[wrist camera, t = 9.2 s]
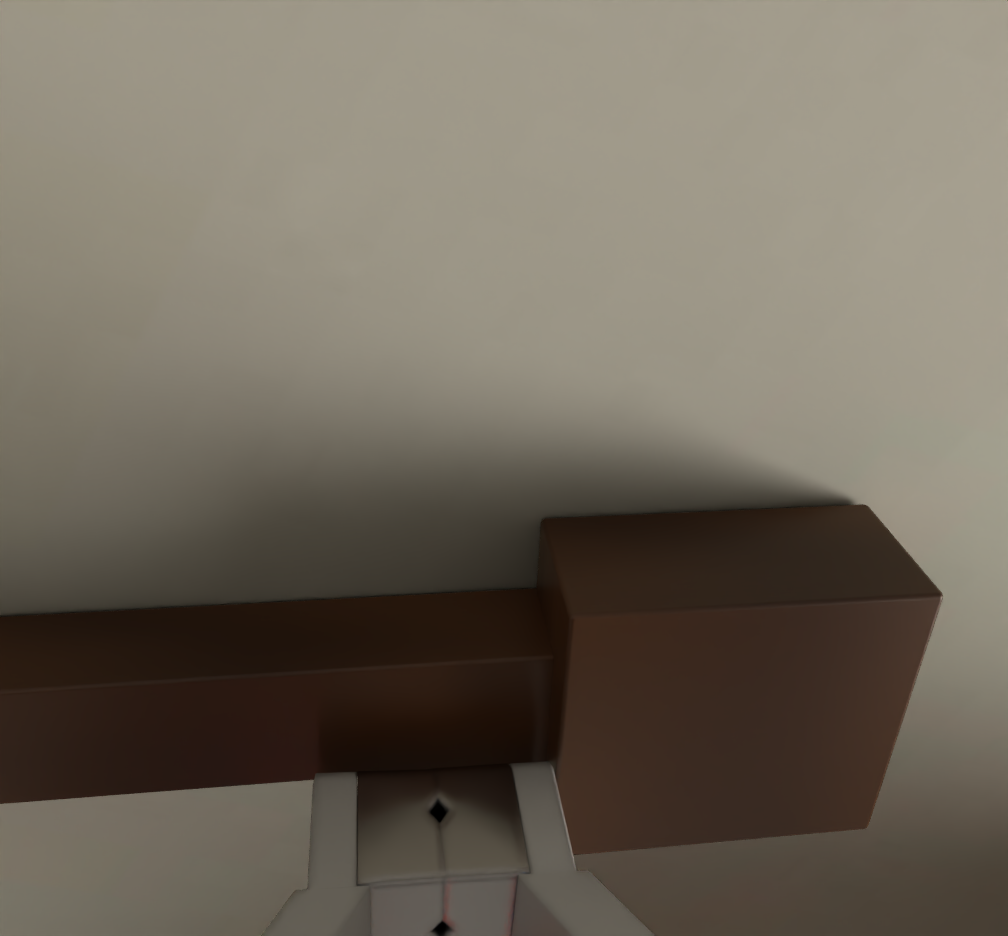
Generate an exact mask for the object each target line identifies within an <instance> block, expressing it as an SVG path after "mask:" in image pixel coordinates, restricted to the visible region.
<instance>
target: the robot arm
mask: <svg viewBox="0 0 1008 936" xmlns="http://www.w3.org/2000/svg"><path fill="white" fill-rule="evenodd" d="M261 936H655V935H654V934H653V933H652V932H651V931H650V930H649V929H648V928H647V927H646V926H645V925H644V924H643V923H642V922H641V921H640V920H639V919H638V918H637V917H636V916H635V915H634V914H633V913H632V912H631V911H630V910H629V909H628V908H627V907H626V906H625V905H623V904H622V903H621V902H620V901H619V900H618V899H617V898H616V897H615V896H614V895H613V894H612V893H611V892H610V891H609V890H608V889H607V888H606V887H605V886H604V885H603V884H602V883H601V882H600V881H599V880H598V879H597V878H596V877H595V876H594V875H593V874H592V873H591V872H590V871H589V870H578V871H577V869H576V865H575V861H574V856H573V852H572V847H571V843H570V839H569V834H568V830H567V826H566V821H565V817H564V813H563V808H562V804H561V800H560V795H559V791H558V787H557V782H556V778H555V774H554V769H553V767H552V765H551V764H550V763H549V761H545V762H528V763H511V764H510V765H508V763H505V764H490V765H474V766H459V767H443V768H431V769H420V770H383V771H358V785H357V772H336V773H316V774H315V778H314V783H313V795H312V814H311V832H310V850H309V868H308V887H307V889H306V890H296V891H294V892H293V894H292V895H291V896H290V898H289V899H288V900H287V902H286V903H285V904H284V906H283V907H282V908H281V910H280V911H279V912H278V914H277V915H276V916H275V918H274V919H273V920H272V922H271V923H270V924H269V926H268V927H267V928H266V930H265V931H264V932H263V933H262V935H261Z"/></svg>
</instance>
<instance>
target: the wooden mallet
mask: <svg viewBox="0 0 1008 936" xmlns="http://www.w3.org/2000/svg"><path fill="white" fill-rule="evenodd" d="M942 599H943V595H942V593H941V591H940V590H939V589H938V588H937V587H936V585H935V584H934V583H933V582H932V581H931V580H930V578H929V577H928V576H927V575H926V574H925V573H924V571H923V570H922V569H921V568H920V567H919V566H918V564H917V563H916V562H915V561H914V560H913V558H912V557H911V556H910V555H909V554H908V553H907V551H906V550H905V549H904V548H903V547H902V546H901V544H900V543H899V542H898V541H897V540H896V539H895V537H894V536H893V535H892V534H891V533H890V531H889V530H888V529H887V528H886V527H885V526H884V524H883V523H882V522H881V521H880V520H879V519H878V517H877V516H876V515H875V514H874V513H873V511H872V510H871V509H870V508H869V507H868V506H867V505H863V504H862V505H840V506H817V507H794V508H771V509H749V510H726V511H703V512H680V513H658V514H635V515H612V516H589V517H567V518H545V519H542V522H541V526H540V543H539V559H538V575H537V588H529V589H510V590H491V591H472V592H454V593H435V594H416V595H397V596H379V597H360V598H341V599H322V600H304V601H285V602H266V603H247V604H228V605H210V606H191V607H172V608H153V609H135V610H116V611H97V612H78V613H59V614H41V615H22V616H3V617H0V804H4V803H17V802H30V801H43V800H56V799H69V798H82V797H95V796H108V795H121V794H134V793H147V792H160V791H173V790H186V789H199V788H212V787H225V786H238V785H251V784H264V783H277V782H290V781H303V780H314V778H315V774H316V773H336V772H357V776H358V771H383V770H420V769H431V768H443V767H459V766H474V765H490V764H505V763H508V765H510V764H511V763H528V762H545V761H549V763H550V764H551V765H552V767H553V769H554V774H555V778H556V782H557V787H558V791H559V795H560V800H561V804H562V808H563V813H564V817H565V821H566V826H567V830H568V834H569V839H570V843H571V847H572V852H573V855H579V854H590V853H601V852H613V851H624V850H635V849H646V848H657V847H668V846H679V845H691V844H702V843H713V842H724V841H735V840H746V839H757V838H769V837H780V836H791V835H802V834H813V833H824V832H835V831H847V830H858V829H865V828H867V827H868V825H869V822H870V819H871V816H872V813H873V809H874V806H875V803H876V800H877V797H878V794H879V791H880V788H881V785H882V782H883V779H884V776H885V773H886V770H887V767H888V764H889V761H890V758H891V755H892V752H893V749H894V745H895V742H896V739H897V736H898V733H899V730H900V727H901V724H902V721H903V718H904V715H905V712H906V709H907V706H908V703H909V700H910V697H911V694H912V691H913V688H914V685H915V681H916V678H917V675H918V672H919V669H920V666H921V663H922V660H923V657H924V654H925V651H926V648H927V645H928V642H929V639H930V636H931V633H932V630H933V627H934V624H935V621H936V618H937V614H938V611H939V608H940V605H941V602H942Z"/></svg>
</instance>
